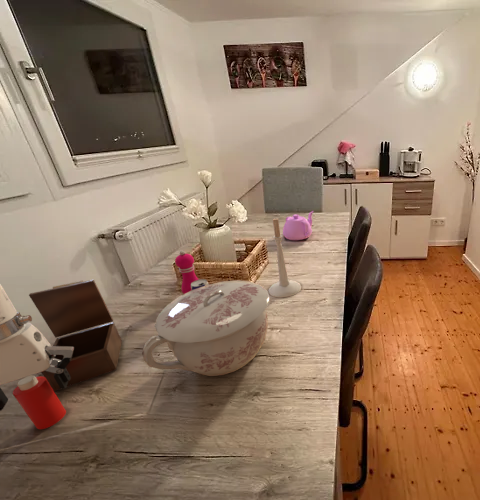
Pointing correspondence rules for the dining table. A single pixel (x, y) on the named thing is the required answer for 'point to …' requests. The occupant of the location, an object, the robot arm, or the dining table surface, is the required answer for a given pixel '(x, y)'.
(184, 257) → the pepper mill
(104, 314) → the lid
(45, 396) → the ketchup bottle
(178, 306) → the chamber pot
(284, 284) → the candlestick
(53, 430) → the dining table surface
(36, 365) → the robot arm
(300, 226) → the teapot
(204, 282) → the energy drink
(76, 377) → the chest
